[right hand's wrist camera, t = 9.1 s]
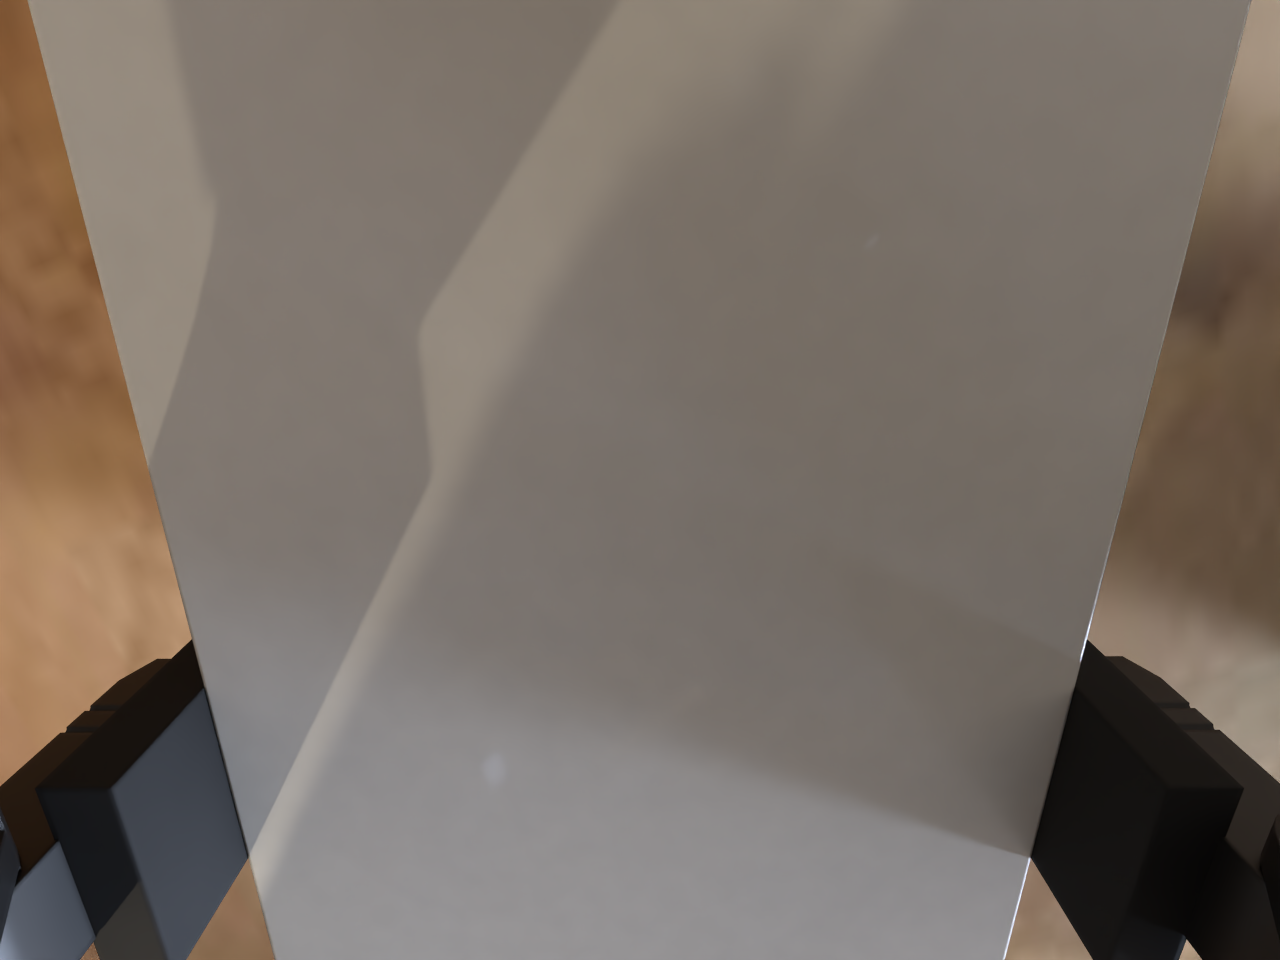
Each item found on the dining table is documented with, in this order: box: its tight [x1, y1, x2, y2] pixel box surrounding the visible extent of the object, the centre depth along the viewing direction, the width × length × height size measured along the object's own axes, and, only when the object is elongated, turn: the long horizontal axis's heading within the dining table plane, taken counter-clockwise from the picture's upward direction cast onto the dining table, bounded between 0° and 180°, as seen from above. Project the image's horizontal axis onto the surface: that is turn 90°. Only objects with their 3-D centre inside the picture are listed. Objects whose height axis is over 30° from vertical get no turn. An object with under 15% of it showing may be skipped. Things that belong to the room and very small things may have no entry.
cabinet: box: [28, 0, 1251, 960], centre depth 12 cm, size 18×10×10 cm, turn 0°
